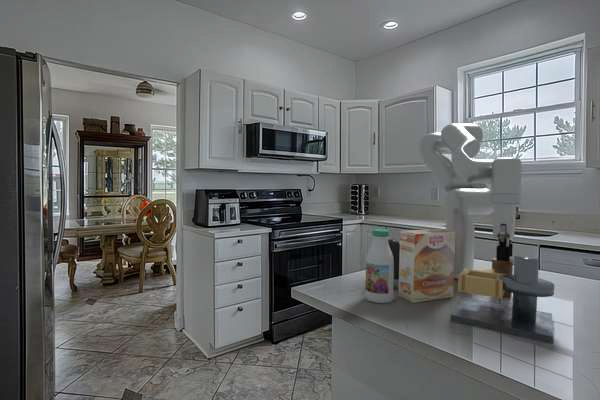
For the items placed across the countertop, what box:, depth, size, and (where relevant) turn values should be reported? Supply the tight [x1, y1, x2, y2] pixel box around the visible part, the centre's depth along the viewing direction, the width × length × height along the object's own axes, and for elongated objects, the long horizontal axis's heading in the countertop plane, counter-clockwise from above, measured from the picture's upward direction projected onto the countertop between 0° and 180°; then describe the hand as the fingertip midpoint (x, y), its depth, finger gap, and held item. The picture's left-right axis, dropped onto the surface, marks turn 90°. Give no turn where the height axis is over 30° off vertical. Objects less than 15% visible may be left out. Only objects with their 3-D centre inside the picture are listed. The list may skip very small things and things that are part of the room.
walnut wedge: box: [491, 256, 514, 300], centre depth 102 cm, size 5×4×11 cm
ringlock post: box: [450, 255, 555, 345], centre depth 84 cm, size 20×16×16 cm
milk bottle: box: [364, 228, 394, 304], centre depth 98 cm, size 8×8×20 cm
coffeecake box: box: [397, 228, 456, 303], centre depth 101 cm, size 15×7×20 cm, turn 112°
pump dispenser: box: [388, 238, 400, 289], centre depth 111 cm, size 10×10×15 cm
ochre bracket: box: [457, 267, 506, 300], centre depth 89 cm, size 10×14×4 cm, turn 144°
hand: (504, 258), depth 101 cm, fingers open, 9 cm apart
